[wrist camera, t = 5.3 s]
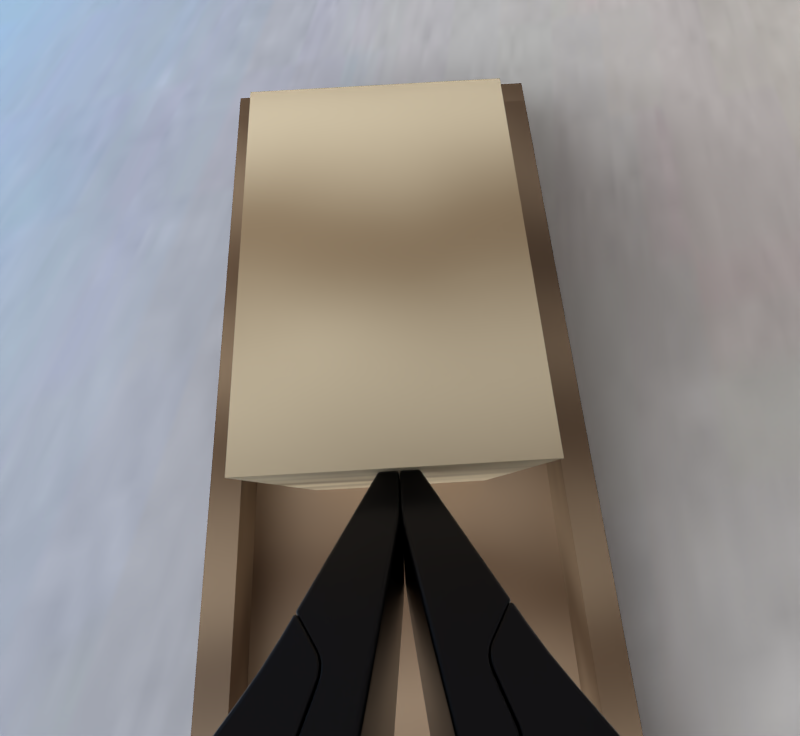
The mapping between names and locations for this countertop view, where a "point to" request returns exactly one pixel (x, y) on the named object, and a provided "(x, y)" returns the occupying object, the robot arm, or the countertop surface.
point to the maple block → (385, 292)
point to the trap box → (466, 501)
